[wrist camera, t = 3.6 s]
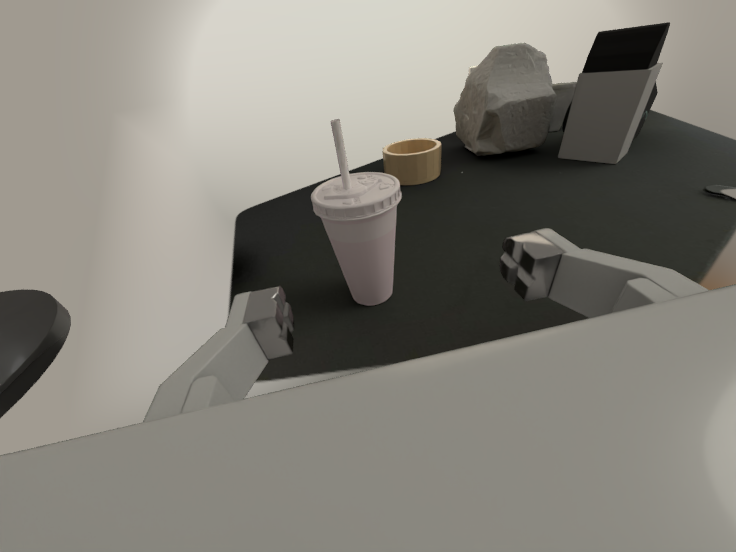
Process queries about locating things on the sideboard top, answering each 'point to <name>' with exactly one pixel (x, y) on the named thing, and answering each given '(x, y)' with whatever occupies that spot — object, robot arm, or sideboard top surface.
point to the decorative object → (613, 94)
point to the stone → (506, 102)
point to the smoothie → (360, 225)
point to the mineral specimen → (561, 103)
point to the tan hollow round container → (413, 160)
